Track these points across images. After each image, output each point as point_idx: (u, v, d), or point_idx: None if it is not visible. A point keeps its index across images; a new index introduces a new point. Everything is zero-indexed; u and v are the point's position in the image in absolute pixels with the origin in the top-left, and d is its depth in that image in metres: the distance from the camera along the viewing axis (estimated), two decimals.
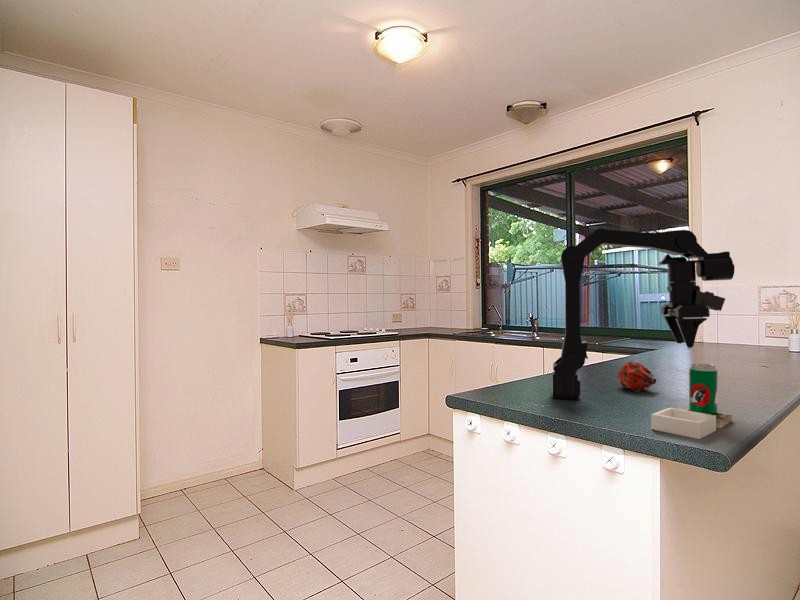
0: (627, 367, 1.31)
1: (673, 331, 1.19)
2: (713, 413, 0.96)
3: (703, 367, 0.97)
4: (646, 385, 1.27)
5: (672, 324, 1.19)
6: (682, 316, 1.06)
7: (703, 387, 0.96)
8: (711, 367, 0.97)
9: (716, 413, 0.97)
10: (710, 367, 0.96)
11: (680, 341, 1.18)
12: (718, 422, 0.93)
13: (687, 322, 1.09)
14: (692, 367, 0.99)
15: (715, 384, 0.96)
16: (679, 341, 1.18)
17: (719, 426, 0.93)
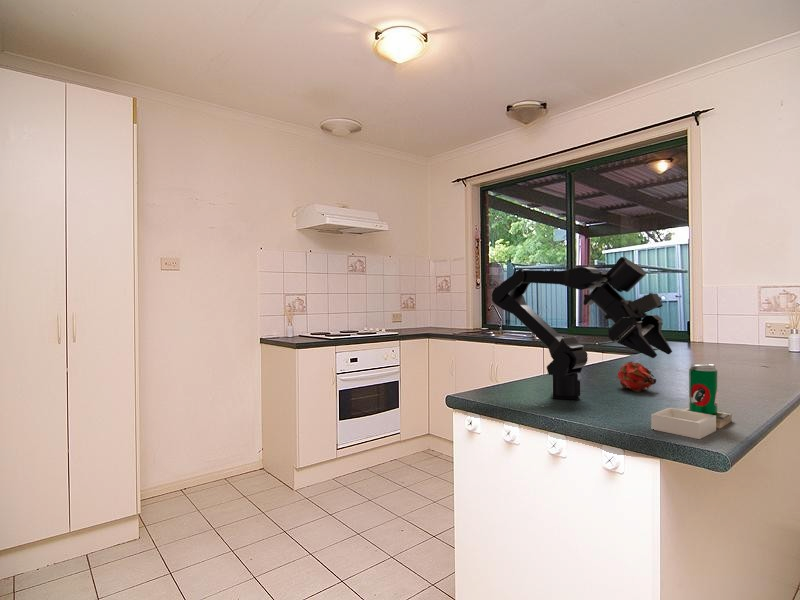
0: (627, 367, 1.31)
1: (656, 346, 1.10)
2: (713, 413, 0.96)
3: (703, 367, 0.97)
4: (646, 385, 1.27)
5: (650, 341, 1.11)
6: (613, 339, 1.04)
7: (703, 387, 0.96)
8: (711, 367, 0.97)
9: (716, 413, 0.97)
10: (710, 367, 0.96)
11: (669, 351, 1.08)
12: (718, 422, 0.93)
13: (631, 338, 1.04)
14: (692, 367, 0.99)
15: (715, 384, 0.96)
16: (668, 351, 1.08)
17: (719, 426, 0.93)
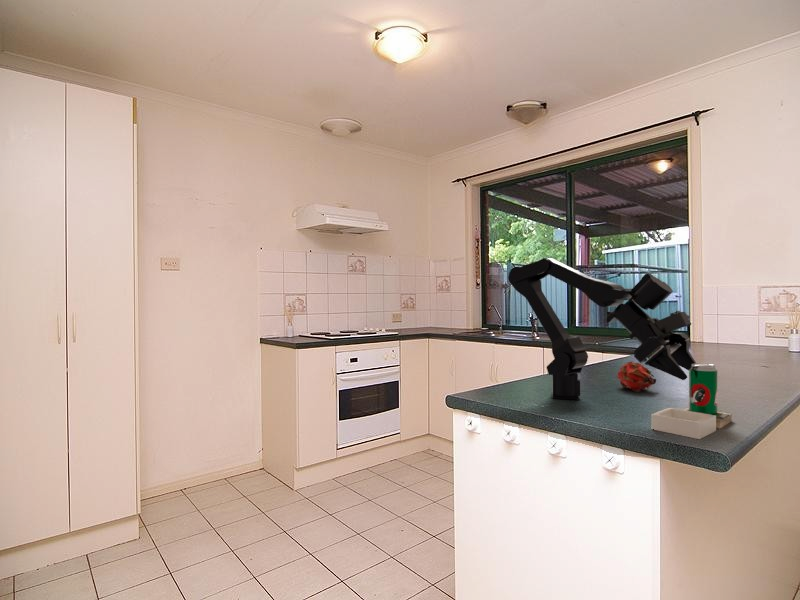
0: (627, 367, 1.31)
1: (684, 366, 1.05)
2: (713, 413, 0.96)
3: (703, 367, 0.97)
4: (646, 385, 1.27)
5: (677, 360, 1.07)
6: (640, 360, 0.99)
7: (703, 387, 0.96)
8: (711, 367, 0.97)
9: (716, 413, 0.97)
10: (710, 367, 0.96)
11: None
12: (718, 422, 0.93)
13: (659, 359, 1.00)
14: (692, 367, 0.99)
15: (715, 384, 0.96)
16: None
17: (719, 426, 0.93)
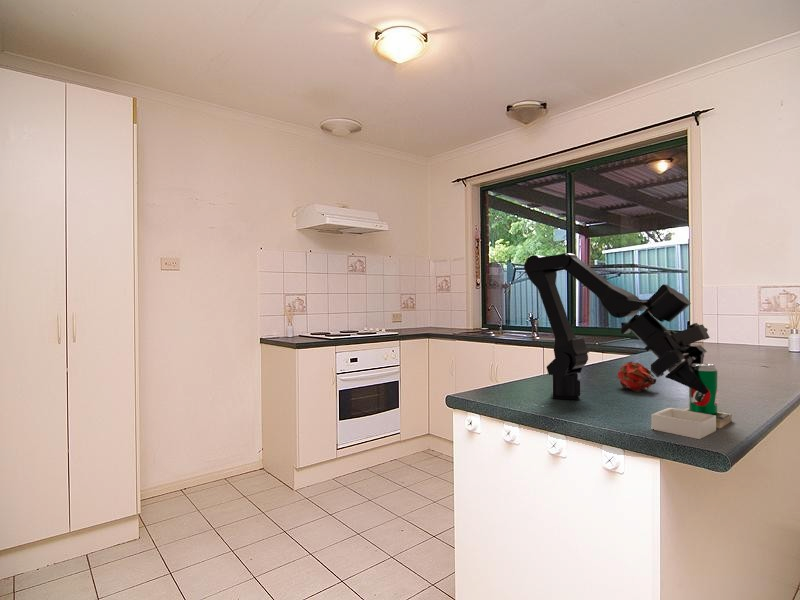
0: (627, 367, 1.31)
1: None
2: (713, 413, 0.96)
3: (703, 367, 0.97)
4: (646, 385, 1.27)
5: None
6: (657, 375, 0.97)
7: None
8: (711, 367, 0.96)
9: (716, 413, 0.97)
10: (710, 367, 0.96)
11: None
12: (718, 422, 0.93)
13: (679, 372, 0.99)
14: (692, 367, 0.99)
15: (715, 384, 0.96)
16: None
17: (719, 426, 0.93)
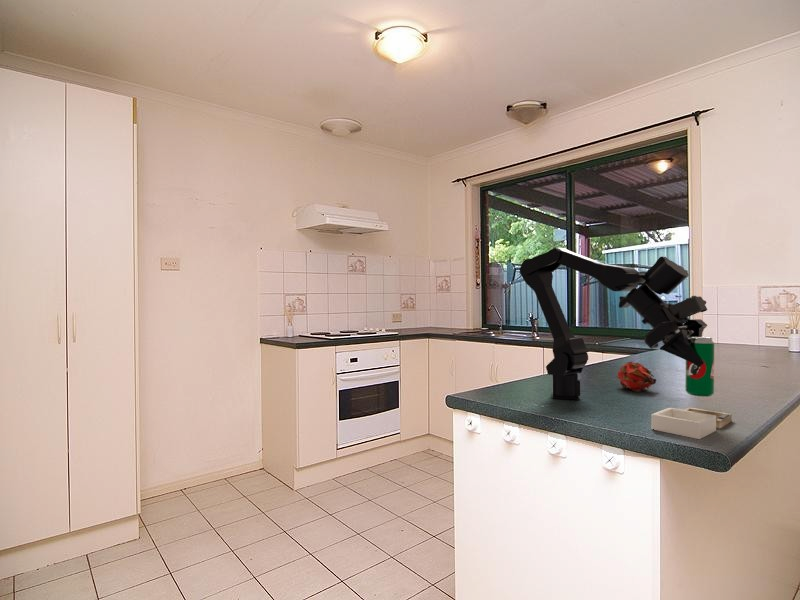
0: (627, 367, 1.31)
1: None
2: (709, 386, 0.95)
3: (699, 339, 0.95)
4: (646, 385, 1.27)
5: None
6: (651, 346, 0.96)
7: None
8: (707, 339, 0.95)
9: (712, 386, 0.95)
10: (706, 339, 0.95)
11: None
12: (718, 422, 0.93)
13: (675, 344, 0.97)
14: (688, 340, 0.97)
15: (711, 357, 0.95)
16: None
17: (719, 426, 0.93)
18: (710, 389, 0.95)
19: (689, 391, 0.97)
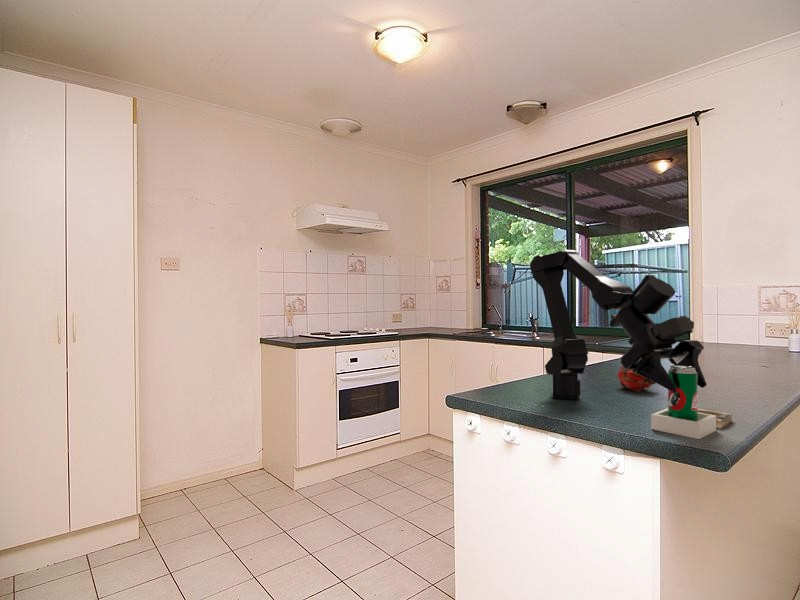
0: None
1: None
2: (689, 419, 0.90)
3: (679, 369, 0.91)
4: (646, 385, 1.27)
5: None
6: (625, 368, 0.94)
7: (678, 390, 0.91)
8: (688, 369, 0.90)
9: (694, 419, 0.90)
10: (686, 369, 0.90)
11: (702, 384, 0.93)
12: (718, 422, 0.93)
13: (649, 367, 0.93)
14: (670, 369, 0.93)
15: (692, 388, 0.90)
16: (701, 384, 0.93)
17: (719, 426, 0.93)
18: None
19: None
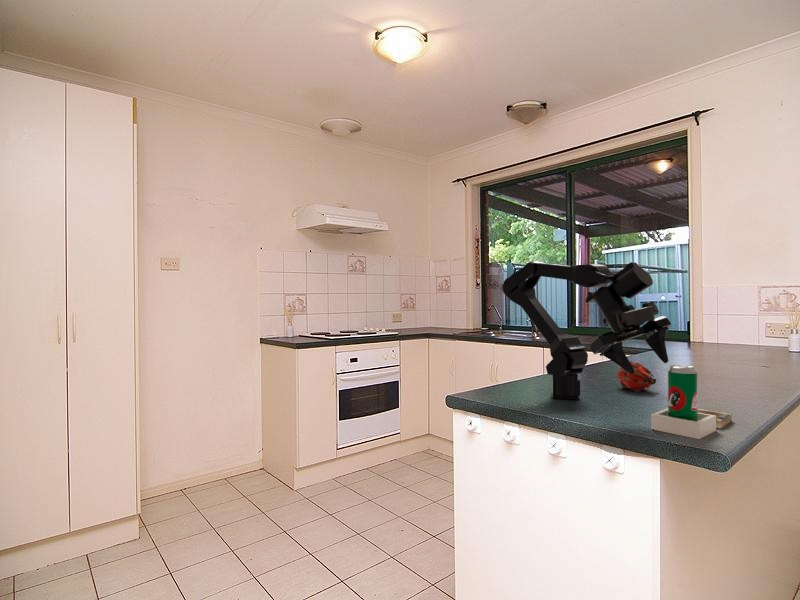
0: None
1: (656, 352, 1.08)
2: (689, 419, 0.90)
3: (679, 369, 0.91)
4: (646, 385, 1.27)
5: (652, 345, 1.09)
6: (593, 353, 1.07)
7: (678, 390, 0.91)
8: (688, 369, 0.90)
9: (694, 419, 0.90)
10: (686, 369, 0.90)
11: (665, 360, 1.05)
12: (718, 422, 0.93)
13: (613, 352, 1.06)
14: (669, 369, 0.93)
15: (692, 388, 0.90)
16: (664, 361, 1.05)
17: (719, 426, 0.93)
18: None
19: None
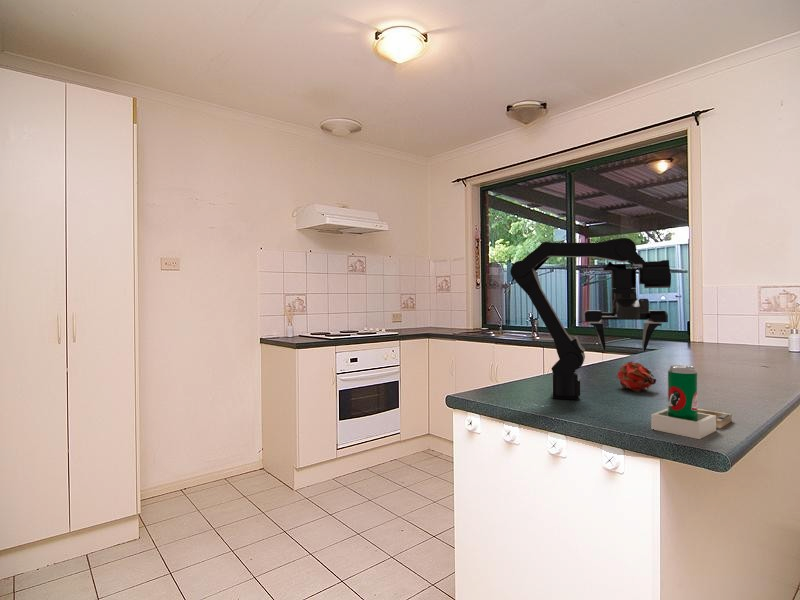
0: (627, 367, 1.31)
1: None
2: (689, 419, 0.90)
3: (679, 369, 0.91)
4: (646, 385, 1.27)
5: (643, 331, 1.17)
6: (583, 319, 1.22)
7: (678, 390, 0.91)
8: (688, 369, 0.90)
9: (694, 419, 0.90)
10: (686, 369, 0.90)
11: (643, 348, 1.15)
12: (718, 422, 0.93)
13: None
14: (669, 369, 0.93)
15: (692, 388, 0.90)
16: (643, 348, 1.16)
17: (719, 426, 0.93)
18: None
19: None
